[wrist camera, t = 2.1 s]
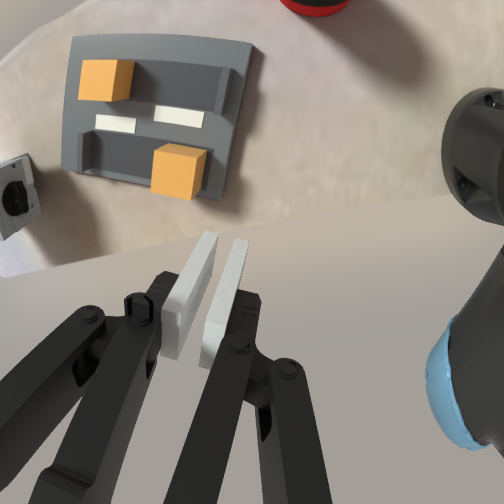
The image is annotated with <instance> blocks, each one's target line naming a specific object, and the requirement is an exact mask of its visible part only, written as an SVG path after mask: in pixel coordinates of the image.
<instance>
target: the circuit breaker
mask: <svg viewBox="0 0 504 504" xmlns="http://www.w3.org/2000/svg"><path fill="white" fill-rule="evenodd" d="M33 183H35V182H34V178H33V173H32V169H31V164H30V159H29V155H28V156H27V153H25V154H22V155H18V156H15V157H12V158H8V159H5V160H2V161H0V241H4V240H6V239H7V238H8V237H10V236H11V235H12V234H14V233H15V232H18V231H19V230H21V228H22V227H23V226H25V225H26V224H27V223H29V222H30V221H32V220H33V219H35V218H36V217H37V216H39V215H40V214H42V210H41V207H40V203H39V199H38V195H37V191H36V187H35V188H34V184H33Z"/></svg>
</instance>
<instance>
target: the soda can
mask: <svg viewBox="0 0 504 504" xmlns="http://www.w3.org/2000/svg"><path fill="white" fill-rule="evenodd" d="M280 1H281V2H282V3H283V4H284V5H285V6H286V7H288V8H289V9H291V10H293V11H295V12H297V13H300V14H303V15H307V16H315V17H319V16H327V15H331V14H334V13H336V12H338V11H340V10H341V9H343V8H344V7H345V6H346V5H347V4H348V3H349V1H350V0H280Z"/></svg>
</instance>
